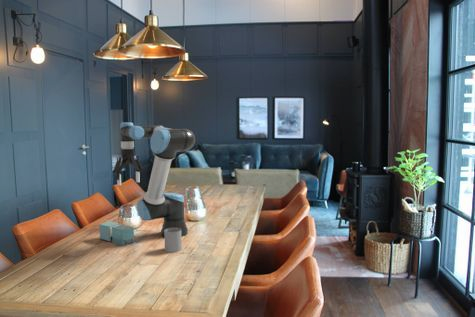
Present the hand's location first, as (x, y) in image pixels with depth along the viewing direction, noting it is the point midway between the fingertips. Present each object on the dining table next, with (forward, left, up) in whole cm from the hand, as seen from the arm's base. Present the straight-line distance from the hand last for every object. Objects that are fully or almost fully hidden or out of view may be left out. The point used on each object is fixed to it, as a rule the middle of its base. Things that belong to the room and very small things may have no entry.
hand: (128, 183), depth 240 cm
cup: (-52, +14, -27) cm, 60 cm away
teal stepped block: (-17, +22, -27) cm, 39 cm away
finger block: (-11, +22, -26) cm, 36 cm away
